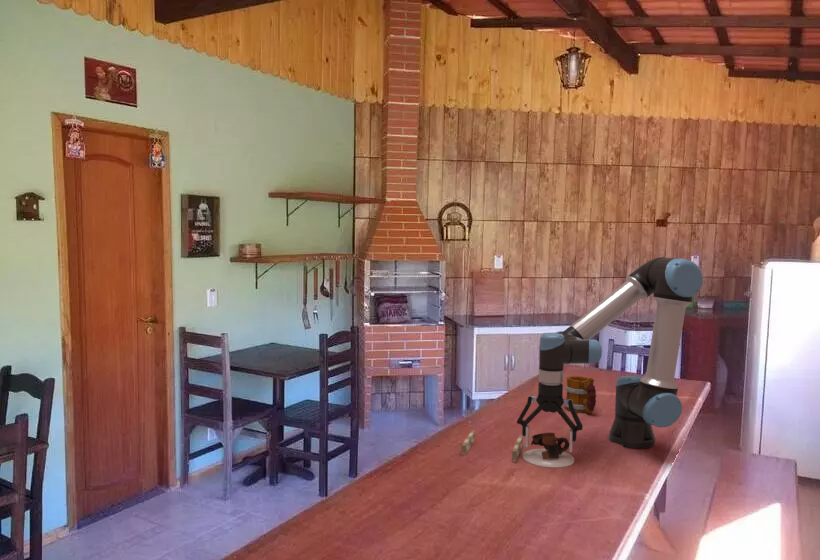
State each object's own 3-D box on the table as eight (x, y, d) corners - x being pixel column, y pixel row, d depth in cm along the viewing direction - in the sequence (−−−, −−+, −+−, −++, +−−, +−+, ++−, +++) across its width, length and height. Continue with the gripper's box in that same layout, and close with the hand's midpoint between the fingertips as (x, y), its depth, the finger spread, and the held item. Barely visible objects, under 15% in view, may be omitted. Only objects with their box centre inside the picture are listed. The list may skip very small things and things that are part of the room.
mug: (581, 404, 263) (582, 369, 262) (605, 415, 247) (606, 378, 246) (559, 406, 260) (560, 371, 259) (581, 418, 244) (583, 380, 243)
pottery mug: (533, 460, 197) (528, 434, 200) (535, 464, 205) (530, 439, 209) (572, 455, 195) (566, 428, 198) (572, 459, 203) (567, 433, 207)
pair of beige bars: (471, 440, 216) (471, 430, 216) (522, 445, 211) (522, 435, 211) (461, 455, 201) (461, 445, 201) (515, 462, 196) (516, 451, 196)
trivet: (575, 452, 205) (575, 452, 205) (573, 470, 190) (573, 469, 190) (526, 447, 210) (526, 446, 210) (519, 463, 195) (519, 463, 195)
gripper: (592, 383, 198) (589, 448, 199) (512, 376, 205) (511, 440, 207) (591, 388, 191) (589, 456, 192) (509, 381, 198) (507, 447, 200)
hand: (548, 448), depth 200 cm, fingers open, 13 cm apart
